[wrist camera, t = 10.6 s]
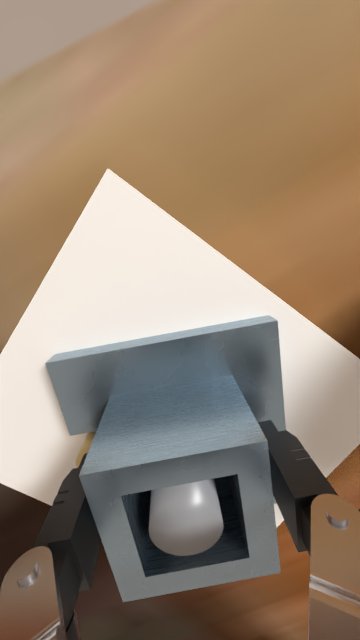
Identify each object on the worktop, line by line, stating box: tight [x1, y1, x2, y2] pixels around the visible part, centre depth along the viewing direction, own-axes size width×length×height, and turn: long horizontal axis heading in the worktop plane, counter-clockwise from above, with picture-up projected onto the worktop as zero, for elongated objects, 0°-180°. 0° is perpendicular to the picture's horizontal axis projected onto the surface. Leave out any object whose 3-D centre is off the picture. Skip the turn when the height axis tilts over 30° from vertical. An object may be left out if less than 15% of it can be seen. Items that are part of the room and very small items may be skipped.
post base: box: [0, 169, 360, 556], centre depth 11 cm, size 18×16×6 cm
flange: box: [45, 315, 286, 602], centre depth 10 cm, size 10×10×5 cm
